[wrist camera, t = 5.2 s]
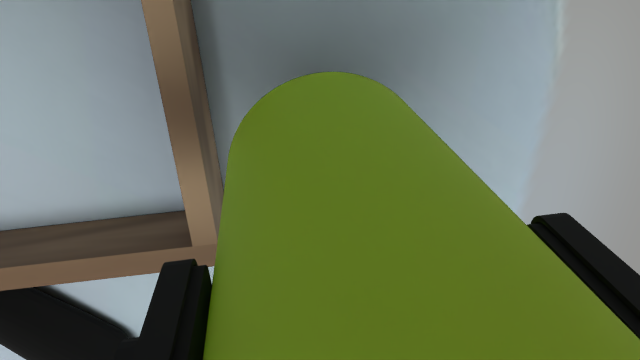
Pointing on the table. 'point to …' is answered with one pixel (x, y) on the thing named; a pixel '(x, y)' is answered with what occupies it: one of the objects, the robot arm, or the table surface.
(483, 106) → the table surface
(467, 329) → the soap dispenser
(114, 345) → the electric trimmer
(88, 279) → the frame
